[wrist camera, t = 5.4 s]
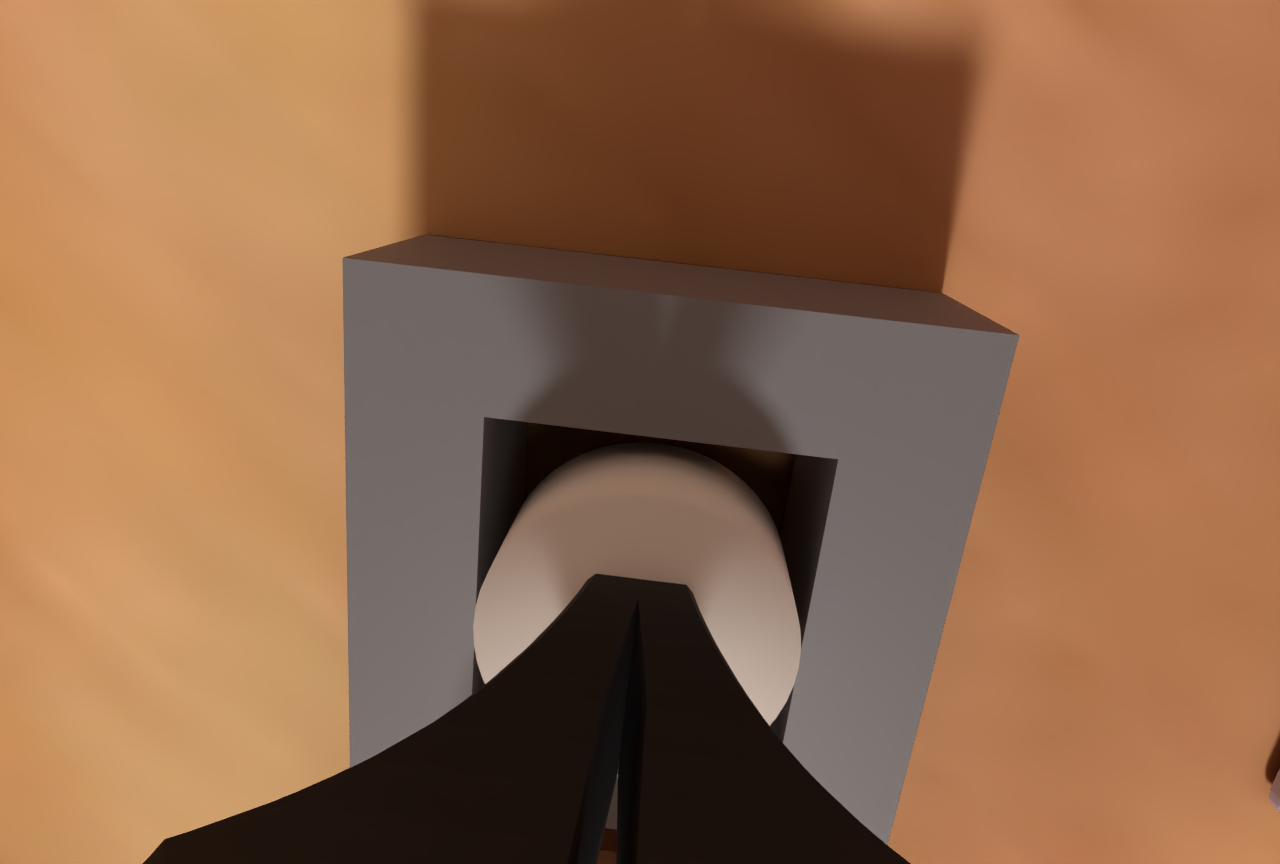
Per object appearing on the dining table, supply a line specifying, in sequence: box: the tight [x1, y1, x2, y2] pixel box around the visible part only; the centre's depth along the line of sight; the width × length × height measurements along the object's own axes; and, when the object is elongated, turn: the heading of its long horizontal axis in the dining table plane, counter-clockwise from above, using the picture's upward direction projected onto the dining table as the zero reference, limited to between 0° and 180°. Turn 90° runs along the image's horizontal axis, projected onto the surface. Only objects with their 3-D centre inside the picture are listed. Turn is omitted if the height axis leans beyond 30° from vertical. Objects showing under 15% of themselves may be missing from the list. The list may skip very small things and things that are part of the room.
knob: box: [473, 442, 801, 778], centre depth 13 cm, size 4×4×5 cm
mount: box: [343, 235, 1019, 845], centre depth 16 cm, size 9×23×4 cm, turn 174°
